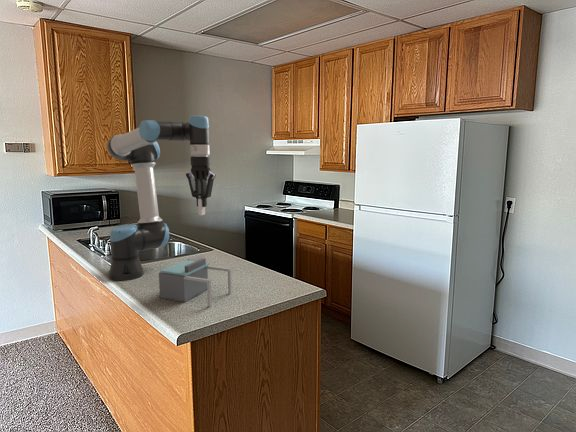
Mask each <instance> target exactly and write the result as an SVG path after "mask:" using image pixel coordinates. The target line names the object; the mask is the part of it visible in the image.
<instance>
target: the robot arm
mask: <svg viewBox="0 0 576 432" xmlns="http://www.w3.org/2000/svg"><path fill="white" fill-rule="evenodd" d="M158 141H166V142H168V141H177V142H185V141H186V142H187V141H188V142H189V150H190V151H189V153H190V155H191V156H190V158H189V159H190V166H191V168H190V171H189V172H187V173H185V176H186V178H187V181H188V184H189V189H190V193H191V197H192V198H195V199H196V206H197V208H198V209H197V210H198V213H197V214H198V216H204V215H206V207H207V205H208V202H207V201H208V200H207V199H208V198H210V197H211V196H212V190H213V186H214V181H215V178H216V177H217V174H216V173H213V172H212V171H211V168H210V166H211V157H210V154H211V152H210V151H211V150H210V149H211V148H210V147H211V146H210V122H209V117H208V116H205V115H190V116H189V117H188V121H172V120H171V121H168V120H156V119H155V120H153V119H149V120H148V119H147V120H141V122H140V124H139V127H136V128H135V129H133V130H130V131H128V132H126V133H124V134H121V133H119V134H116V135H114V136H112V137H111V138H109V139H108V140H107V143H106V144H107V145H106V148H107V149H106V150H107V152H108V153H109V155H110V156H111V158H113V159H116V160H118V161H121V162H129V163H130V166H131V167H132V168H133V169H134V176H135V183H136V184H135V185H136V193H137V200H138V208H139V217H140V218H139V220H138V221H137V224H134V223H130V224H121V225H118V226H116V227H113V228H112V229H111V230H110V232H109V234H110V236H109V241H110V252H111V253H110V254H111V264H110V268H109V271H108V278H109V279H110V278H111V279H110V280H112V279H114V280H113V281H129V280H134V279H138V278H140V277H142V276H143V275H144V274H145V273H144V267H143V266H142V262H141V261H140V257H139V253H140V252H142V251H148V250H152V249H159V248H161V247H162V248H163V247H165V246H166V245H167V243H168V241H169V240H170V239H169V238H170V228H169V227H168V225H167V223H165V222H164V221H163V218H162V217H161V216H160V214H159V205H158V195H157V188H156V180H155V170H154V168H155V166H156V165H157V161H158V160H159V158H160V155H161V149H160V145H159V143H158Z"/></svg>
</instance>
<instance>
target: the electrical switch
mask: <svg viewBox="0 0 576 432" xmlns="http://www.w3.org/2000/svg"><path fill="white" fill-rule="evenodd" d="M202 258H203V259H206V257H205V255H204V254H201V255H198V256H192V257H189V258H188V259H187V260H188V261H198V260H200V259H202Z"/></svg>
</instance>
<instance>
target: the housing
mask: <svg viewBox="0 0 576 432" xmlns="http://www.w3.org/2000/svg"><path fill="white" fill-rule="evenodd" d="M209 270H214V271H222V272H227V295H231V294H232V291H233V290H232V288H233V287H232V269H231V268H230V267H229V268H228V267H222V266H221V267H220V266H214V265H213V266H212V265H208V266H206V267H204V268H202V269H200V270H198V271H195V272H193V273H191V274H189V275H187V276H181V275H174V274H168V273H161V272H160V271H159V272H158V282H159V283H158V285H159V286H158V287H159V298H160V299H163V300H168V301H174V302H179V303H187V302H188V301H190V300H192V299H194V298H196V297H198V296H199V295H201V294H203V293H205V292H206V291H207V294H206V296H207V297H206V298H207V307H208V308H211V307H212V280H211V279H209V278H208V274H209Z"/></svg>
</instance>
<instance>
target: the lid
mask: <svg viewBox="0 0 576 432" xmlns="http://www.w3.org/2000/svg"><path fill="white" fill-rule="evenodd" d="M206 266H210V262H209V263H208V262H207V259H206V258H205V259H203V258H202V259H200V260H198V261H188V259H187V260H186V259H185V260H182V261H179V262H177V263H175V264H174V263H173V264H172V265H170V266H167V267H165V268H163V269H160V270H159V273H160V272H161V273H168V274H174V275H181V276H187V275H189V274H191V273H193V272H195V271H198V270H200V269H202V268H204V267H206Z"/></svg>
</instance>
